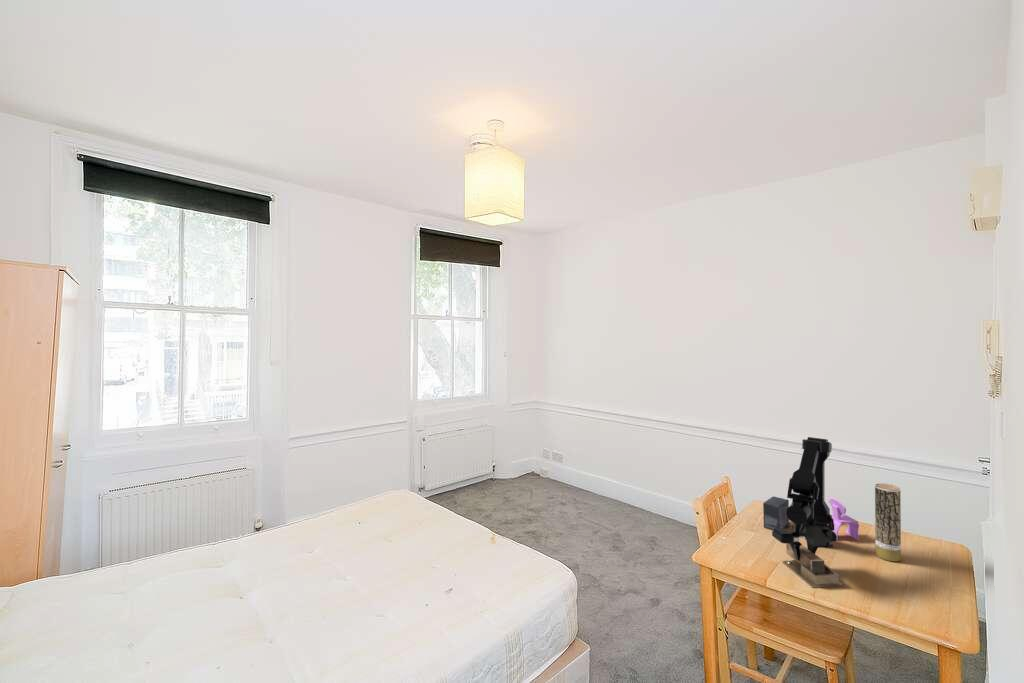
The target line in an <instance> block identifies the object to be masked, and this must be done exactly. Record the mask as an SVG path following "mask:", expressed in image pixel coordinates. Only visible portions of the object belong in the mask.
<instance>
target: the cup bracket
mask: <svg viewBox="0 0 1024 683" xmlns="http://www.w3.org/2000/svg"><path fill="white" fill-rule="evenodd" d="M781 563H782V564H783V565H784V566H785V567H787V568H788V569H789V570H790V571H792V572H793V573H794V574H795V575H796V576H798V577H799V578H800V579H801V580H802V581H803V582H805V583H806V584H807V585H809V587H811V588H812V589H814V588H835V587H837V588H838V587H840V588H841V587H844V585H845V584H844V583H842V582H841V581H840V574H839V573H838V572H836V571H834V569H832V568H830V567H829V566H828V565H826V564H825V563H824V573H814V572H812V571H811V570H810V569H809V568H807V567H806V566H805V565H804V564H799V563H798V562H797V561H796V560H782V562H781Z"/></svg>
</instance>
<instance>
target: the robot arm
mask: <svg viewBox="0 0 1024 683" xmlns="http://www.w3.org/2000/svg"><path fill="white" fill-rule="evenodd" d="M801 446H802V447H801V448H802V449H801V450H803V452H802V456H801V460H800V464H799V467H798V469H797V470H795V471H793V473H792V476H791V478H790V477H789V480H788V488H787V495H786V499H791V500H792V501H791V504H789V508H788V509H787V511H786V515H787V517H788V519H789V522H792V523H793V525H791V529H792V530H793V531H789V530H787V529H786V528H774V529H773V530H771V536H772V537H773V538H775V539H776V540H777V541H778V542H780V543H781V544H786V543H789V544H790V546H791V548H792V550H793V553H794V555H795V557H796V559H797V560H800V546H801V545H802V543H801V542H800V538H801V539H802V538H804V540H806V545H807V546H806V548H807V549H808V550H810V551H811V552H813V553H814V554H815V555H816V553H817V550H818V549H819V547H821V548H822V547H834V544H833V543H834V542H836V543H837V542H838V541H837V535H836V533H835V532H833V530H834V520H833V519H832V515H833V514H831V512H830V511H831V510H830V507H829V505H828V504H827V503H826V501H825V491H826V490H825V467H826V466H825V462H826V461H827V459H828V458H829V457H830V455H831V453H832V450H833V445H832V442H830V441H829V439H827V438H821V437H820V438H817V437H810V436H808V437H807V439H805V438H804V439H802V445H801ZM792 492H793V493H792Z"/></svg>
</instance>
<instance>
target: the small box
mask: <svg viewBox="0 0 1024 683" xmlns="http://www.w3.org/2000/svg"><path fill="white" fill-rule="evenodd" d="M762 505H763V506H762V509H763V510H762V513H763V528H764V529H766V530H771V531H772V530H773V529H774V528H785V529H786V528H787V527H788V526H790V520H789V519H788V517H787V515H786V511H787V509H788V508H789V506H790V503H789V499H788V498H782V497H777V496H771V497H770V498H768V499H767V500H765V501H764V502H763V503H762Z"/></svg>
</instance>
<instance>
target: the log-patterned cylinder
mask: <svg viewBox="0 0 1024 683" xmlns="http://www.w3.org/2000/svg"><path fill="white" fill-rule="evenodd" d="M901 500H902V499H901V488H900V487H899V486H896V485H893V484H889V483H875V484H874V505H875V506H874V513H875V514H874V518H875V519H874V520H875V523H874V525H875V527H874V530H875V535H874V536H875V538H874V539H875V554H876V556H877V557H879V558H880V559H882V560H884V561H888V562H893V563H894V562H896V563H897V562H899V561H900V560H902V540H901V539H902V537H901V535H902V534H901V533H902V530H901V527H902V526H901V525H902V524H901V522H902V520H901V519H902V518H901V508H902V506H901V502H902V501H901Z"/></svg>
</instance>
